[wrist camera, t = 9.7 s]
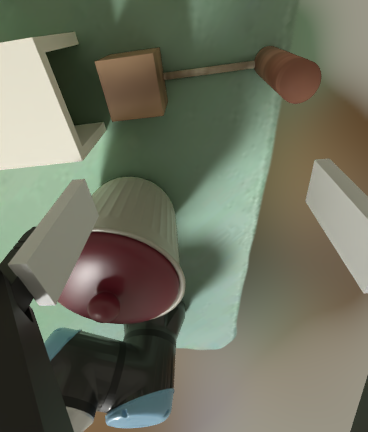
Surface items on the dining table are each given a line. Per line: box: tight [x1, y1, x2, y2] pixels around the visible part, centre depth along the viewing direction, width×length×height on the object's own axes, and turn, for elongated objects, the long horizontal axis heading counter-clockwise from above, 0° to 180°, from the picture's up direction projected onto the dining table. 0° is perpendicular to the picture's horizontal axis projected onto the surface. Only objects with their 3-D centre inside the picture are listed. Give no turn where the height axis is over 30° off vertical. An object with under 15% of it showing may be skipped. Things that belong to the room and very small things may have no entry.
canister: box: [58, 176, 186, 324], centre depth 36 cm, size 18×18×21 cm
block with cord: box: [95, 46, 321, 122], centre depth 26 cm, size 6×20×12 cm, turn 97°
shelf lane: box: [0, 32, 106, 170], centre depth 29 cm, size 11×10×10 cm
